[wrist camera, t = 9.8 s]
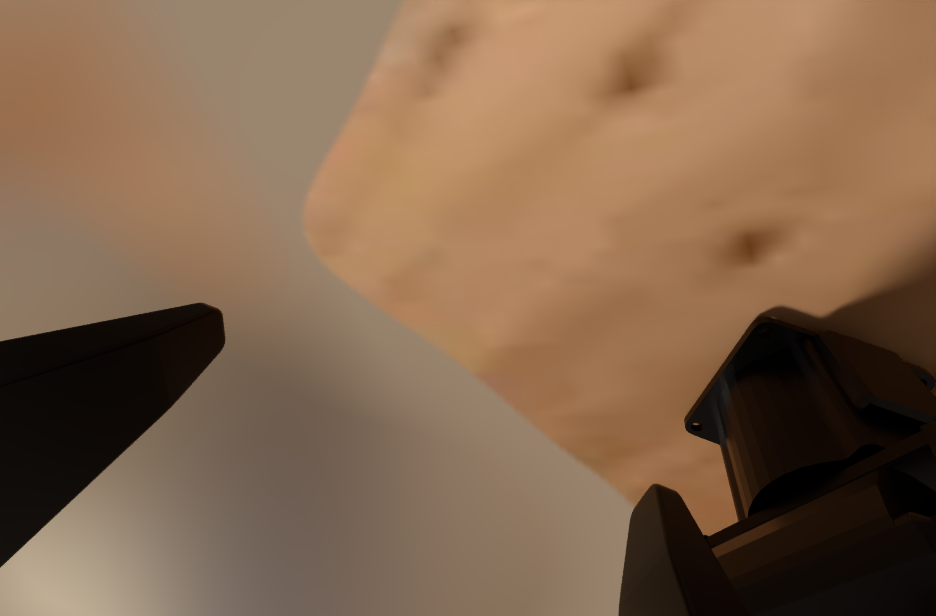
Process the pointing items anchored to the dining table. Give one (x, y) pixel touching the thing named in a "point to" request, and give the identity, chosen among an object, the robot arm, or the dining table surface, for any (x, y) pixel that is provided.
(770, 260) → the dining table surface
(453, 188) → the dining table surface
